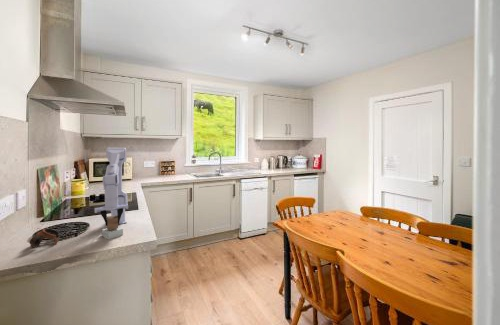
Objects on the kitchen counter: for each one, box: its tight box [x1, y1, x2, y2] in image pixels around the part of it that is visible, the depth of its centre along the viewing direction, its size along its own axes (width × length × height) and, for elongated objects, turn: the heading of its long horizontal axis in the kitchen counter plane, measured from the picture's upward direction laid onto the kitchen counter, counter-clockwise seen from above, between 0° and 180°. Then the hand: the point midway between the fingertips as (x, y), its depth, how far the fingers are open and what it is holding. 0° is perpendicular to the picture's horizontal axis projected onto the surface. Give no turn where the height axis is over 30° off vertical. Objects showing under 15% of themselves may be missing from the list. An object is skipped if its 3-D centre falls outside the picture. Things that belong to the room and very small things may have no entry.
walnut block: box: [106, 215, 119, 230], centre depth 119 cm, size 4×4×6 cm
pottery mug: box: [29, 228, 61, 249], centre depth 107 cm, size 12×10×8 cm
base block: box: [101, 226, 124, 240], centre depth 120 cm, size 7×7×4 cm
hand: (112, 224), depth 119 cm, fingers closed on walnut block, 4 cm apart
